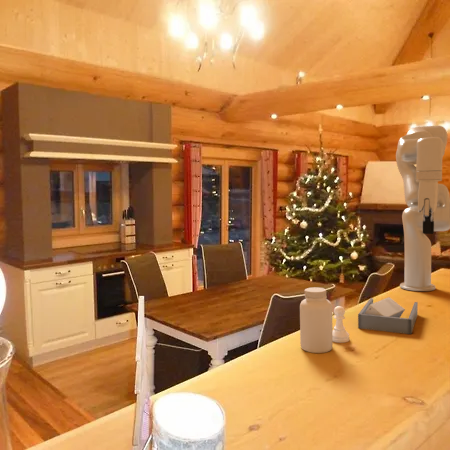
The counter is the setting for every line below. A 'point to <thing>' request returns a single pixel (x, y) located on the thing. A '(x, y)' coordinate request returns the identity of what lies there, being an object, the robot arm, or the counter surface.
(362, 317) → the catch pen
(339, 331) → the chess pawn
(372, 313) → the skincare box
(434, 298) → the counter surface
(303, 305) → the pill bottle
